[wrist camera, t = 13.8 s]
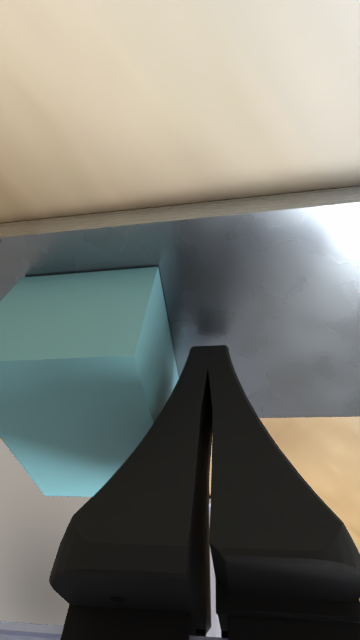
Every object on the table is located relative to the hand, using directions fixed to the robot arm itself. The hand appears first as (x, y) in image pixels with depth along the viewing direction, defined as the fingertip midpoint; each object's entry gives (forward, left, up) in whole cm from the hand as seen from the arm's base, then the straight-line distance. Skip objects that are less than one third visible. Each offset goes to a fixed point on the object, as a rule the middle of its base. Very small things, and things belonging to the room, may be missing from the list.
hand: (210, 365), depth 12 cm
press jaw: (0, +4, -1) cm, 4 cm away
